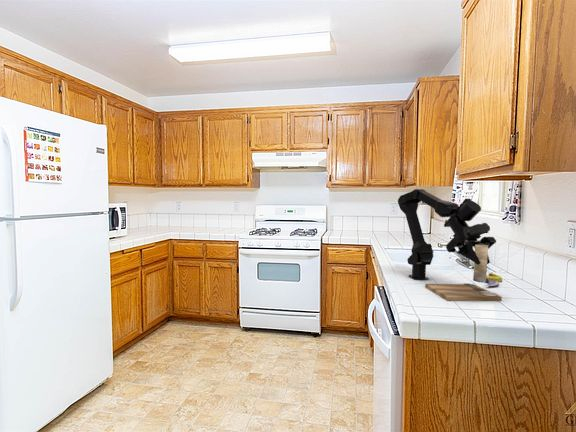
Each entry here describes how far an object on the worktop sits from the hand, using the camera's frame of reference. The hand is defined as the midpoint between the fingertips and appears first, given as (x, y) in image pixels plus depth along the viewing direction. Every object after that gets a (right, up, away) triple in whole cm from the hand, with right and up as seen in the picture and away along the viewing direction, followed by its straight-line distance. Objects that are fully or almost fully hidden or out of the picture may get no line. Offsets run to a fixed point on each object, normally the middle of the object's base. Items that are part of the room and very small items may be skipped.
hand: (483, 263), depth 120 cm
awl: (-1, -6, +2) cm, 7 cm away
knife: (+18, -12, +27) cm, 35 cm away
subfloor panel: (-3, -13, +9) cm, 16 cm away
